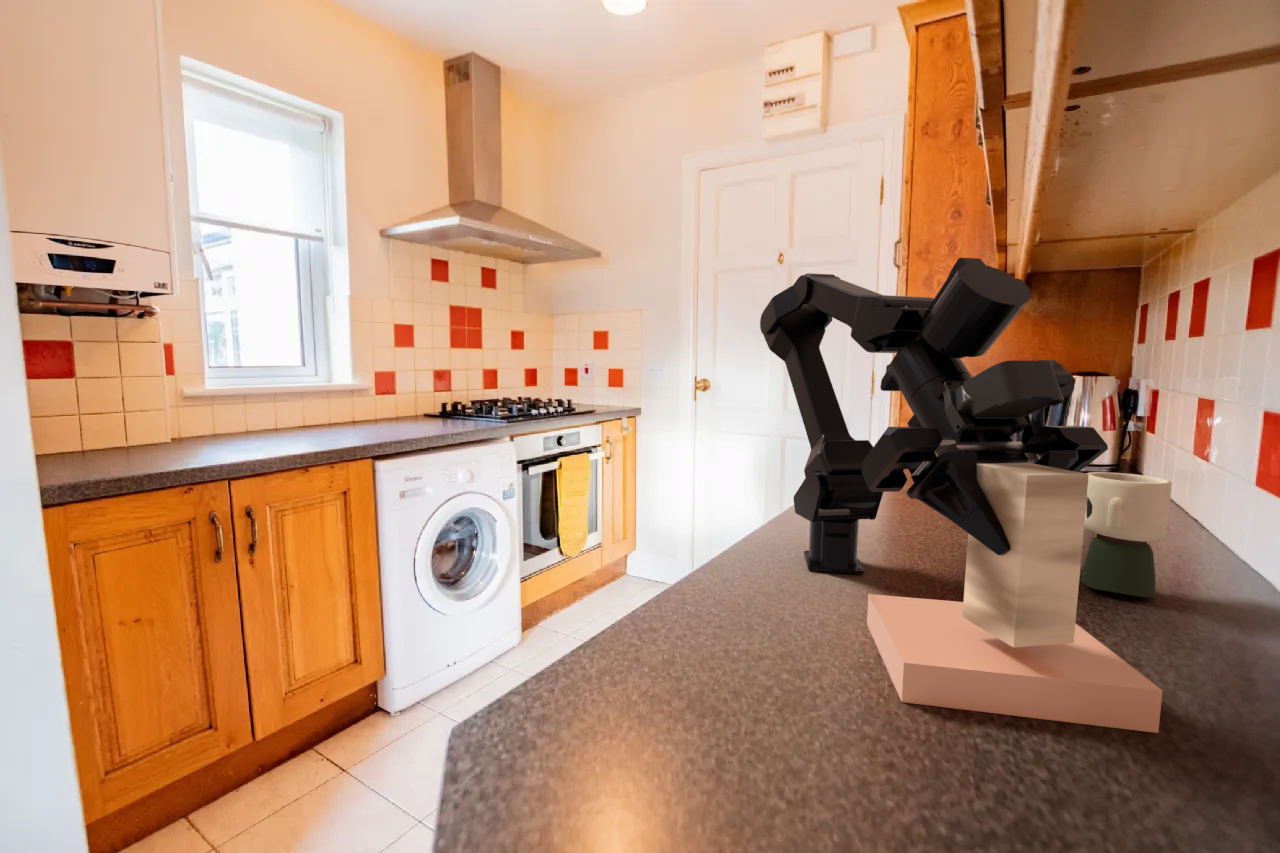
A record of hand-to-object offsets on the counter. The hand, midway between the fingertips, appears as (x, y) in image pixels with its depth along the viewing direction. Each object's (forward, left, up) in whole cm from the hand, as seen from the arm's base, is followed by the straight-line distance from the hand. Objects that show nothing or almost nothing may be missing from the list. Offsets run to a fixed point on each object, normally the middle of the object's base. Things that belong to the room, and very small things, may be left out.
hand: (1037, 551), depth 41 cm
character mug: (-25, +19, -11) cm, 33 cm away
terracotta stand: (-3, -2, -11) cm, 12 cm away
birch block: (-1, -1, -7) cm, 7 cm away
